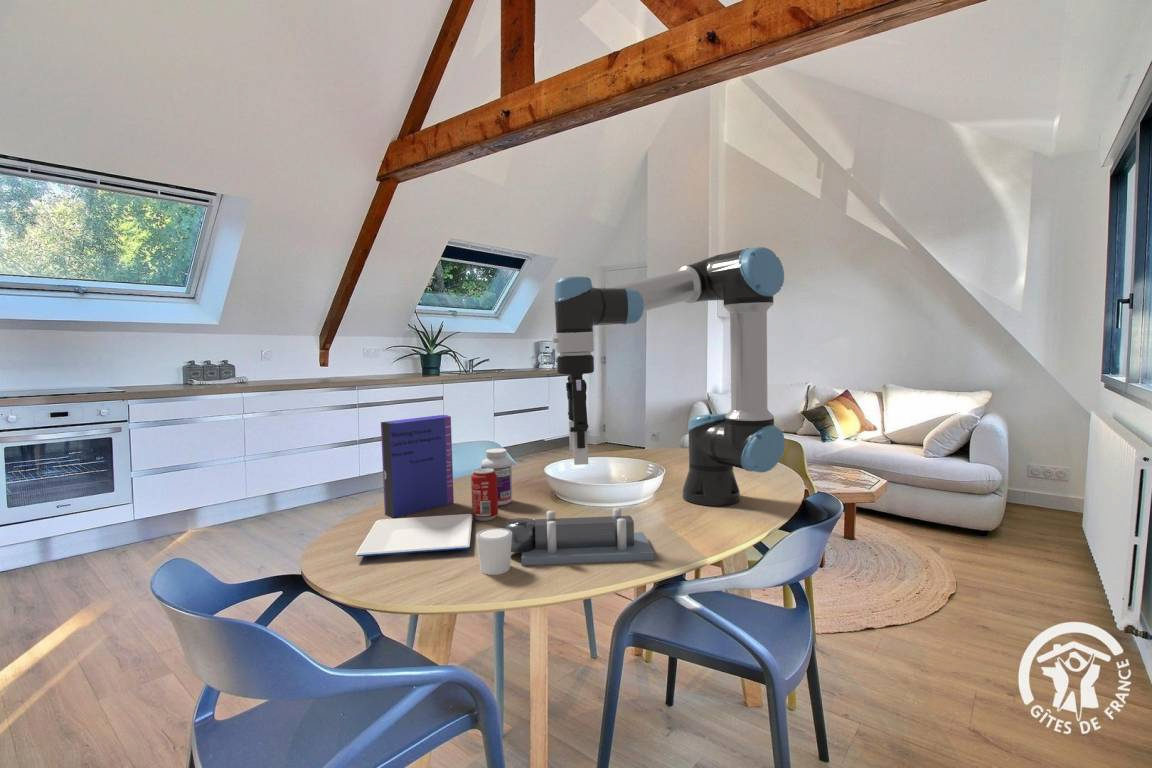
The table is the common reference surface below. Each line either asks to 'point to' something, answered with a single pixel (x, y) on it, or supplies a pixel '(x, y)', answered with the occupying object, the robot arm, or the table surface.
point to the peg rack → (590, 555)
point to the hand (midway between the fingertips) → (578, 457)
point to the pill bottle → (500, 473)
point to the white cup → (494, 550)
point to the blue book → (417, 464)
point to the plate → (417, 535)
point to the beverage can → (484, 494)
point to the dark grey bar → (568, 532)
